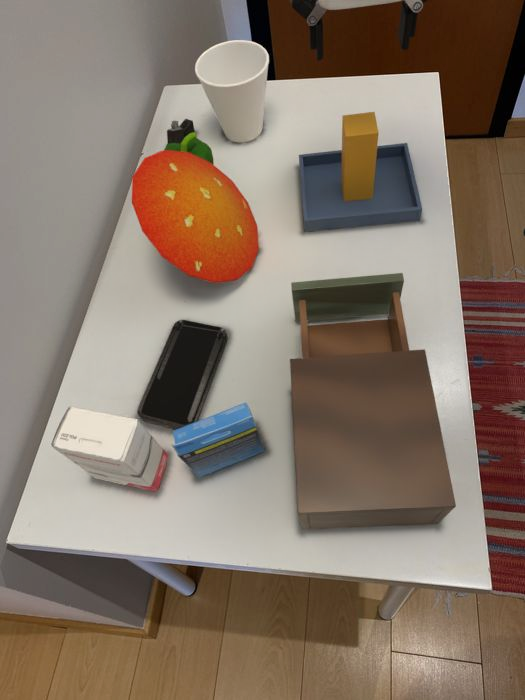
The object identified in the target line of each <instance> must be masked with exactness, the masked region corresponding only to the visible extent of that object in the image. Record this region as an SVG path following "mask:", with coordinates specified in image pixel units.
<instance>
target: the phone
mask: <svg viewBox="0 0 525 700" xmlns="http://www.w3.org/2000/svg"><path fill="white" fill-rule="evenodd" d="M228 339H229V338H228V333H227V331H226V329H225V328H223V327H221V326H217V325H216V326H215V325H211V324H207V323H201V322H197V321H191V320H186V319H179V320H177V321H176V322H175V323H174V324H173V326H172V328H171V329H170V333H169V335H168V338H167V340H166V342H165V344H164V346H163V349H162V351H161V353H160V356H159V358H158V360H157V363H156V365H155V367H154V370H153V372H152V374H151V377H150V378H149V381H148V383H147V385H146V388H145V390H144V393H143V395H142V398H141V400H140V402H139V405H138V407H137V412H136V413H137V416H138V417H139V418H140V419H141V420H142V421H144V422H147V423H150V424H153V425H154V424H155V425H159V426H162V427H165V428H170V429H174V430H177V429H179V428H182V427H184V426H187V425H189V424H192V423H194V422H197V421H199V417H200V414H201V411H202V410H203V406H204V403H205V401H206V399H207V396H208V393H209V390H210V388H211V384H212V383H213V380H214V377H215V373H216V371H217V368H218V366H219V363H220V361H221V357H222V355H223V352H224V350H225V347H226V344H227V342H228Z"/></svg>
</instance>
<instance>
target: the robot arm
mask: <svg viewBox="0 0 525 700" xmlns="http://www.w3.org/2000/svg"><path fill="white" fill-rule="evenodd" d="M288 1H289V2H290V4H291V7H292V9H293V10H294V11H295V12H296V13H297V14H298V15H300V16H301V17H302V19H304V20H305V21H306V23H307V24H308V34H309V35H308V37H309V50H310V51H312V50H315V53H316V56H315V57H316V61H317V62H319V61H322V60H323V59H324V25H323V16H324V14H325V13H326V11H328V10H329V11H337V10H339V11H340V10H346V9H355V8H362V7H370V6H378V5H383V4H385V5H386V4H392V3H397V2H401V5H400V13H399V22H398V30H397V38H398V42H399V45H400V49H401V50H402V51H408V50H409V46H410V39H411V38H414V37H415V36H416V30H417V29H416V28H417V23H418V14H419V12H421V11H422V9H423V8H424V4H425V3H426V2H428V0H288Z"/></svg>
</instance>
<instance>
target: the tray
mask: <svg viewBox="0 0 525 700" xmlns="http://www.w3.org/2000/svg"><path fill="white" fill-rule="evenodd" d="M410 153H411V152H410V149H409V144H408V142H403V143H393V144H383V145H377V156H376V166H375V177H374V187H373V198H372V199H365V200H355V201H345V202H344V199H343V192H342V184H341V164H342V149H337V150H330V151H322V152H321V151H319V152H311V153H302V154H298V162H299V177H300V190H301V202H302V215H303V227H304V228H303V229H304V233H309V232H318V231H329V230H339V229H340V230H341V229H352V228H361V227H371V226H380V225H391V224H393V225H394V224H402V223H411V222H420V221H421V217H422V213H423V205H422V202H421V197H420V192H419V189H418V183H417V180H416V179H417V178H416V175H415V171H414V166H413V162H412V159H411V154H410Z"/></svg>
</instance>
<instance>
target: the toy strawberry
mask: <svg viewBox="0 0 525 700" xmlns="http://www.w3.org/2000/svg"><path fill="white" fill-rule="evenodd" d="M131 184H132V185H131V186H132V187H131V204H132V207H133V210H134V213H135V215H136V218H137V221H138V223H139V225H140V229H141V231H142V233H143V234H144V235H145V237H146V238H147V240H148V241H149V242H150V243H151V245H152V246H153V247H154V249H155V250H157V252H158V253H159V255H160V256H161V257H162V258H163V259H164V260H166V261H167V262H169V263H170V264H171V265H173V266H174V267H175V268H177V269H178V270H180V271H181V272H183V273H184V274H185V275H187V277H192V278H195V279H199V280H202V281H205V282H208V283H211V284H219V283H221V284H222V283H227V282H235V281H238V280H240V279H241V277H242V276H244V275H245V274H247V273H248V272H249V271H250V270H251V269H252V268H253V266H254V263H255V260H256V258H257V256H258V253H259V250H260V246H259V245H260V243H259V231H258V229H259V228H258V224H257V222H256V218H255V216H254V214H253V212H252V209H251V206H250V204H249V202H248V201H247V199H246V198H245V196H244V194H243V193H242V192H241V191H240V189H239V188H238V186H237V185H236V183H234V181H233V180H232V179H231V178H230V177H229V176H227V175H226V174H225V173H224V172H223V171H222V170H221V169H219V168H218V167H217V166H216V165H215V164H214V165H213V164H212V163H210V162H208V161H206V160H204V159H202V158H199V157H197V156H195V155H193V154H191V153H189V152H181V151H170V150H164V149H163V150H161V151H158V152H156V153H153V154H151V155H148V156H147V157H144V158H143V160H142V161H141V163H140V164H139V166H138V167H137V169H136V170H135V172H134V174H133V175H132V183H131Z"/></svg>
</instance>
